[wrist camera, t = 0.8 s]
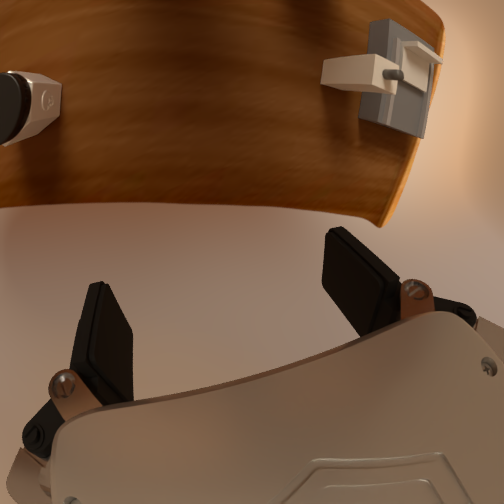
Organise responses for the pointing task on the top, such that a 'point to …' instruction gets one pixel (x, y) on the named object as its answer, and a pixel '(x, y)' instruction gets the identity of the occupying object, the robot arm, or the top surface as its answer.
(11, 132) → the jar
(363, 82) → the plug
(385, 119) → the socket block
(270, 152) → the top surface
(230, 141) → the top surface
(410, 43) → the shutter
